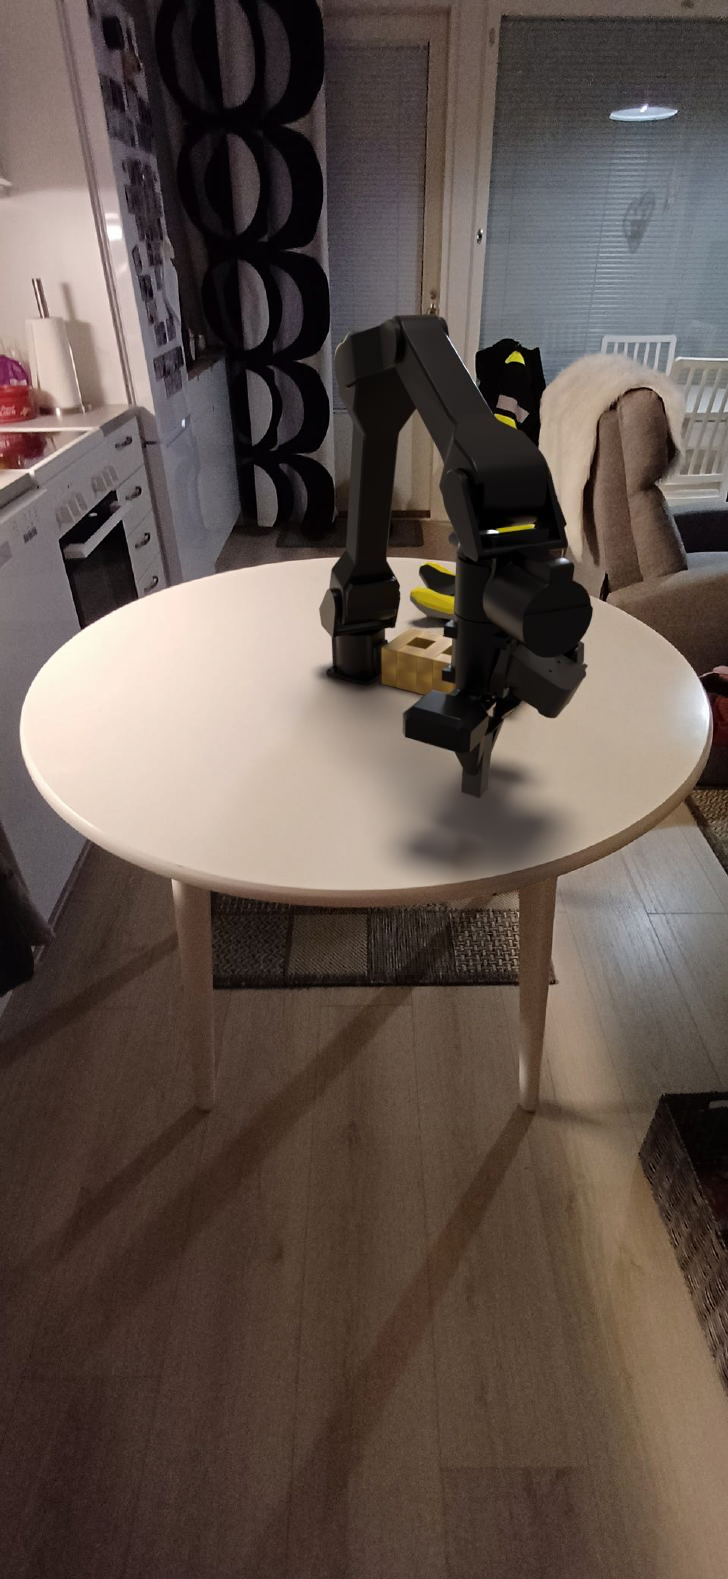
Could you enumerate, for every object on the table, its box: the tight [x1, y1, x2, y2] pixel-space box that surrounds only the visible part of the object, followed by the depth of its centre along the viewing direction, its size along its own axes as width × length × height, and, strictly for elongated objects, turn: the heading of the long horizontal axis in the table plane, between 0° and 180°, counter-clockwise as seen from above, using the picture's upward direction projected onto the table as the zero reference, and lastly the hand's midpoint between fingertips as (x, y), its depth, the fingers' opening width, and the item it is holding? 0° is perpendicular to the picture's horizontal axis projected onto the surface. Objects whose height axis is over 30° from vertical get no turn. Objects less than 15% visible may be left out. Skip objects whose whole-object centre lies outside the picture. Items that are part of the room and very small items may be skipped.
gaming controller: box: [409, 561, 456, 622], centre depth 117 cm, size 15×6×10 cm
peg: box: [460, 707, 495, 799], centre depth 72 cm, size 2×2×9 cm
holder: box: [381, 627, 517, 717], centre depth 95 cm, size 17×7×5 cm, turn 58°
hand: (476, 768), depth 73 cm, fingers closed on peg, 2 cm apart
